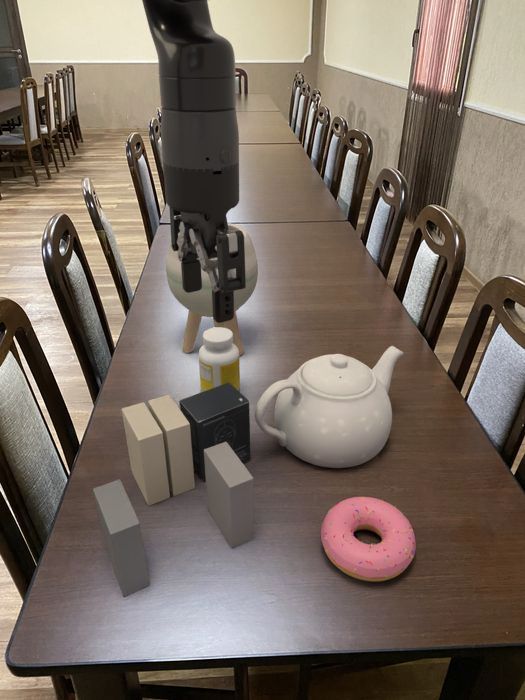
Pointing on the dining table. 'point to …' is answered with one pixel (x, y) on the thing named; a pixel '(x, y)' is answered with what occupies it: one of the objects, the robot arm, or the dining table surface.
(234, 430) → the box
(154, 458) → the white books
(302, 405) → the teapot
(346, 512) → the doughnut
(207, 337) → the pill bottle
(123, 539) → the grey books
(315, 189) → the dining table surface
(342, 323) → the dining table surface
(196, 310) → the planter
